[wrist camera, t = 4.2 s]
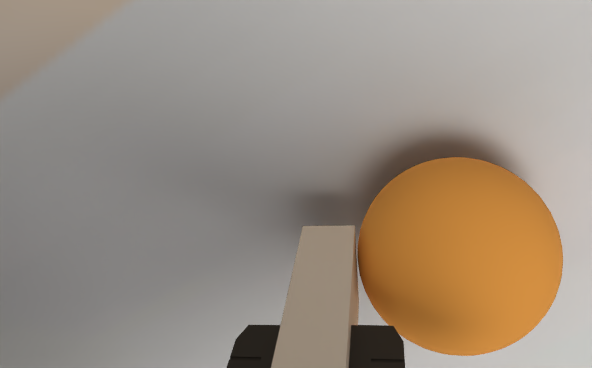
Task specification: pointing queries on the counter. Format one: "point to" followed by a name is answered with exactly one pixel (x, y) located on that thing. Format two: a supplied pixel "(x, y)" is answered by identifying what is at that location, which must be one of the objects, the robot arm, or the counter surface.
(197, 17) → the counter surface
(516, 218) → the ball
